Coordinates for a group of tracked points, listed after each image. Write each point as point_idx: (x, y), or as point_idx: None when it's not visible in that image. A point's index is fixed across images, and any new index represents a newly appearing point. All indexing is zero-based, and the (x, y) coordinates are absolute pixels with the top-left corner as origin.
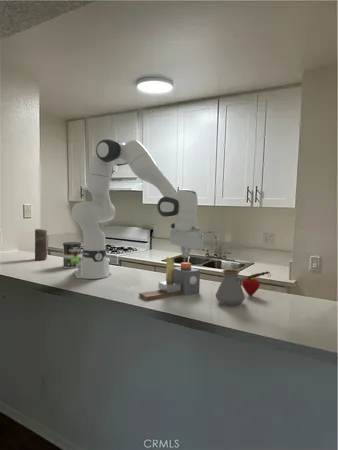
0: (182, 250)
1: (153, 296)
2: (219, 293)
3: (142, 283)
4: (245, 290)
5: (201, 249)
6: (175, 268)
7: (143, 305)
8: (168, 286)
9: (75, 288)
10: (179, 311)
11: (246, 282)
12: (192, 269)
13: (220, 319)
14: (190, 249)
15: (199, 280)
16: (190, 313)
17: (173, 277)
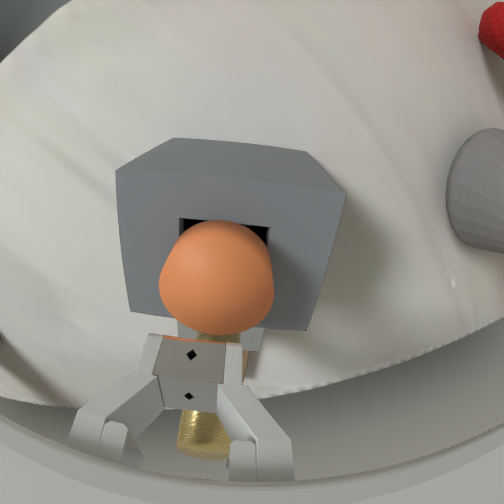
0: (141, 427)
1: (246, 363)
2: (480, 247)
3: (44, 271)
4: (487, 45)
5: (501, 428)
6: (162, 310)
7: (274, 390)
8: (260, 345)
9: (69, 398)
10: (381, 353)
11: None
12: (277, 229)
13: (479, 309)
14: (289, 453)
15: (321, 169)
16: (412, 341)
17: (235, 334)
